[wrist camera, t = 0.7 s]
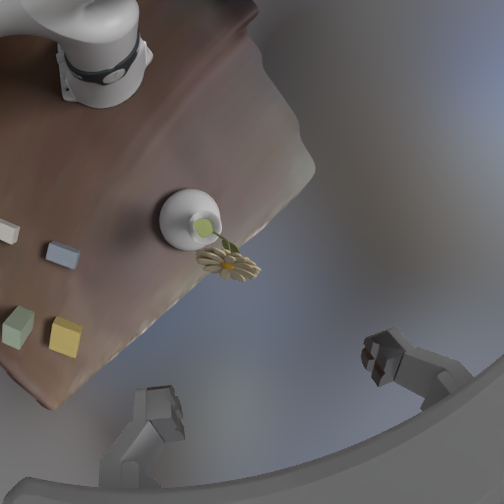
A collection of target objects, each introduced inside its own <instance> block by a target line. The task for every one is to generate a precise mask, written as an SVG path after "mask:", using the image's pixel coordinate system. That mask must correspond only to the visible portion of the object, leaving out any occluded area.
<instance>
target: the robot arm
mask: <svg viewBox="0 0 504 504" xmlns="http://www.w3.org/2000/svg"><path fill="white" fill-rule="evenodd" d="M138 19H139V7H138V4H137V2H136V0H0V37H4V36H10V35H20V34H23V35H35V36H41V37H45V38H48V39H51V40H54V41H56V42H57V43H58V53H57V54H56V58H57V62H58V64H59V71H60V80H61V89H62V96H63V99H64V100H65V101H67V102H80V103H82V104H84V105H86V106H89V107H92V108H108V107H112V106H115V105H118V104H120V103H122V102H124V101H125V100H127V99H128V98H129V97H130V96H131V95H132V94H133V93H134V92H135V91H136V90H137V89H138V87H139V85H140V84H141V81H142V79H143V75H144V71H145V68H146V67H147V66H148V64H149V63H150V62H151V60H152V58H153V54H152V52H151V51H150V49H149V48H148V47H147V46H146V42H145V41H143V40H142V39H141V38H140V33H139V28H138ZM68 88H69V91H66V90H67V89H68ZM364 345H365V348H364V349H363V350H362V353H361V360H362V363H363V366H364V367H365V369H366V370H368V371H370V372H372V374H371V378H372V379H373V380H374V382H375V383H376V385H377V386H378V387H380V386H382V385H385V384H387V383H389V382H392V381H394V382H396V383H397V384H399V385H401V386H403V387H405V388H407V389H408V390H410V391H412V392H414V393H416V394H418V395H420V396H422V397H424V398H425V400H424V402H423V403H422V405H421V408H420V409H421V410H422V412H420V413H419V414H417V415H416V416H413V417H412V418H410V419H408V420H406V421H404V422H402V423H400V424H398V425H396V426H394V427H393V428H390V429H388V430H386V431H384V432H382V433H380V434H378V435H376V436H374V437H371V438H370V439H367V440H365V441H362V442H360V443H358V444H355V445H353V446H350V447H348V448H345V449H343V450H340V451H338V452H335V453H332V454H329V455H326V456H324V457H321V458H318V459H315V460H312V461H309V462H306V463H302V464H299V465H296V466H292V467H289V468H285V469H281V470H278V471H274V472H270V473H265V474H261V475H257V476H253V477H247V478H242V479H237V480H231V481H226V482H219V483H212V484H205V485H197V486H186V487H175V488H161V485H160V484H159V483H158V482H157V481H156V480H155V479H154V478H153V477H152V476H150V475H149V474H150V472H151V470H152V468H153V466H154V464H155V463H156V461H157V459H158V457H159V455H160V453H161V451H162V449H163V447H164V445H165V442H172V441H180V440H185V433H184V426H183V424H182V422H181V420H182V418H183V413H182V408H181V404H180V401H179V399H178V397H177V396H175V391H174V388H173V386H172V385H168V386H159V387H149V388H138V389H135V392H134V402H133V422H129V423H128V424H127V426H126V427H125V428H124V429H123V431H122V432H121V433H120V435H119V436H118V437H117V439H116V440H115V441H114V443H113V444H112V445H111V447H110V448H109V449H108V450H107V452H106V453H105V455H104V456H103V457H102V458H101V460H100V470H99V487H89V486H80V485H71V484H64V483H58V482H52V481H47V480H42V479H37V478H32V477H25V478H23V479H22V480H21V481H19V482H18V483H17V484H16V485H15V486H14V487H13V488H12V489H11V490H10V491H9V492H8V493H7V495H6V496H5V498H4V500H3V504H504V354H503V355H502V356H501V357H500V358H498V359H497V360H496V361H495V362H494V363H492V364H491V365H490V366H489V367H487V368H486V369H485V370H483V371H482V372H481V373H480V374H478V375H477V376H476V377H473V376H472V375H471V374H470V373H469V372H468V371H467V370H466V369H465V367H464V366H463V365H462V364H461V363H460V362H459V361H456V360H454V359H450V358H448V357H445V356H442V355H439V354H436V353H433V352H430V351H428V350H424V349H422V348H419V347H417V348H415V347H414V346H413V345H412V344H411V343H410V342H409V340H408V339H407V338H406V337H405V336H404V335H403V334H402V333H401V332H400V331H399V330H398V329H397V328H396V327H392V328H390V329H387V330H384V331H381V332H378V333H376V334H373V335H370V336H368V337H366V338H365V339H364Z"/></svg>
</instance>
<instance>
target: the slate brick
mask: <svg viewBox="0 0 504 504" xmlns="http://www.w3.org/2000/svg"><path fill="white" fill-rule="evenodd" d="M80 252H81V250H78V249H75V248H72V247H69V246H67V245H64V244H61V243H58V242H56V241H52V242H50V243H49V247H48V251H47V255H46V259H47V260H50V261H52V262H55V263H58V264H60V265H63V266H66V267H69V268H71V269H75V268H76V266H77V264H78V260H79V256H80Z"/></svg>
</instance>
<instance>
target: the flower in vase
mask: <svg viewBox="0 0 504 504" xmlns="http://www.w3.org/2000/svg"><path fill="white" fill-rule="evenodd" d="M159 224H160V229H161V232H162V235H163V236H164V238H165V239H166V241H167V242H168V243H169V244H171V245H172V246H173V247H175V248H177V249H180V250H184V251H193V250H197V251H196V252H197V254H196V255H197V256H198V257H196V259H197V261H198V263H199V264H201V265H205V267H204V268H203V270H205V271H210V272H211V273H220V277H221V278H223V279H227V278H229V276H230V277H231V278H233V279H234V280H239V281H241V282H245V278H248V279H251V280H252V279H253V278H256V277H257V274H259V271H261V269H260V268H259V267H257V266H256V264H255V263H254V262H252V261H250V259H249V258H247V257H244V256H241V255H240V252H239V249H238V247H237V246H236V245H235V244H233V243H231V242H229V241H228V240H227V239H225V238H224V237H223V236H221V235H220V233H221V229H222V225H221V221H220V212H219V209H218V206H217V204H216V203H215V201H214V200H213V199H212V197H211V196H209V195H208V194H207V193H205V192H203V191H201V190H197V189H184V190H180V191H178V192H176V193H174V194H173V195H171V196H170V197H169V198H168V199H167V200H166V202H165V203H164V205H163V207H162V209H161V212H160V217H159ZM218 237H220V238H221V239H223V240H222V243H223V247H224V248H225V249H221V250H220V249H218V248H211V249H210V248H204V250H198V249H201V248H203V247H205V246H206V245H208V244H211V243H213V242H214V241H215V240H216V239H217V238H218ZM244 277H245V278H244Z"/></svg>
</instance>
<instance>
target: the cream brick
mask: <svg viewBox="0 0 504 504" xmlns="http://www.w3.org/2000/svg"><path fill="white" fill-rule="evenodd" d="M19 230H20V227H19V226H17V225H14V224H12V223H10V222H7V221H5V220H2V219H0V240H2V241H5V242H7V243H9V244H13V243H15V242H17V238H18V234H19Z"/></svg>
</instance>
